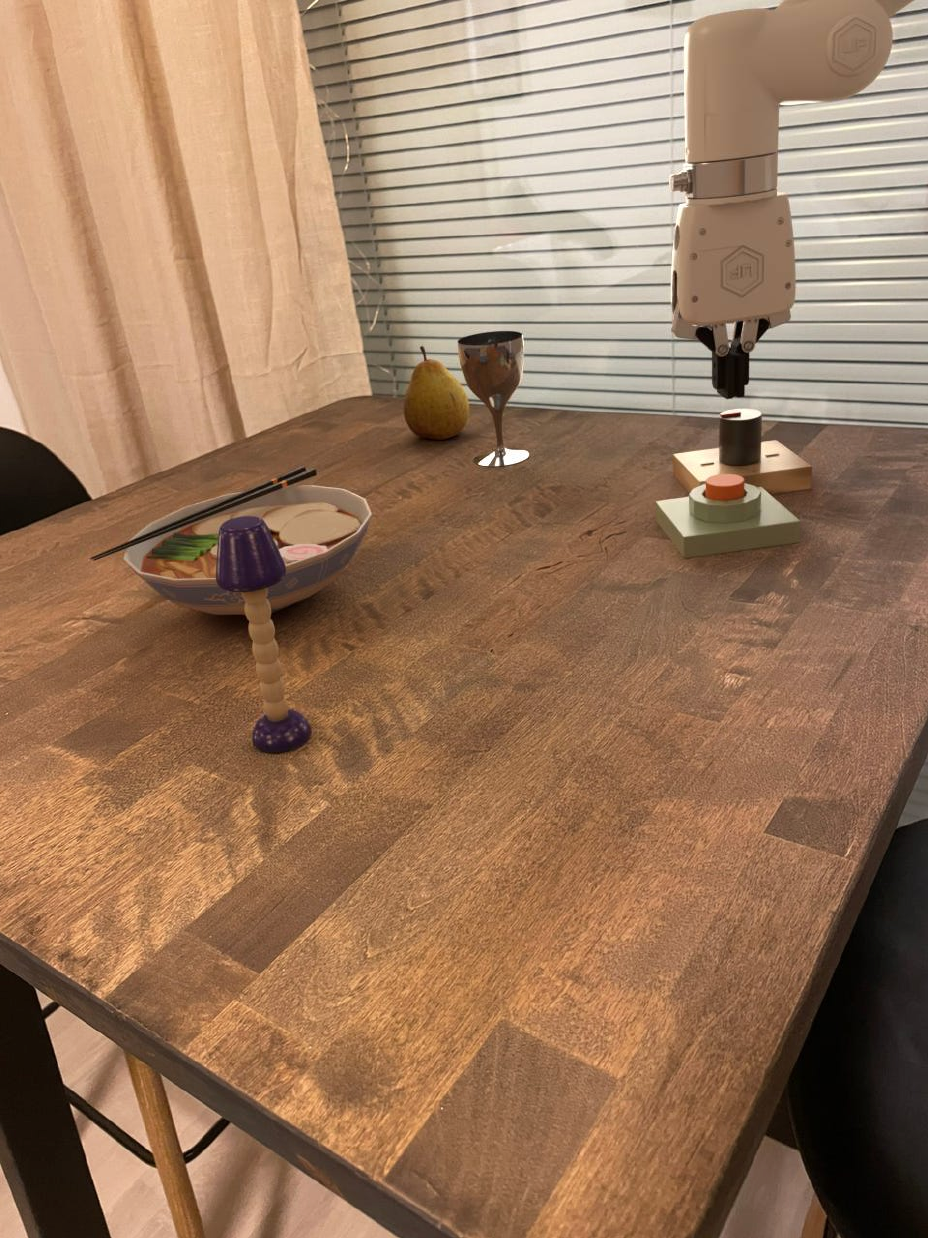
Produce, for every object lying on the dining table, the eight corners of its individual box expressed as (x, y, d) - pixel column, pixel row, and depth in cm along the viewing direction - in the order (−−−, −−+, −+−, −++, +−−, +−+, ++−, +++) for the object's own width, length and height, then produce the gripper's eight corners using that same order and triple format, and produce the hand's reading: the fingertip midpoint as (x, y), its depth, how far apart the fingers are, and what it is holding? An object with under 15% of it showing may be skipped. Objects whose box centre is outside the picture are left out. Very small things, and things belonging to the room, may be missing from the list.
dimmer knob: (752, 450, 108) (753, 403, 105) (766, 462, 104) (768, 413, 101) (713, 456, 107) (713, 409, 105) (726, 468, 103) (727, 419, 101)
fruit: (464, 443, 131) (453, 353, 126) (400, 445, 134) (387, 357, 128) (478, 424, 139) (469, 339, 133) (417, 427, 141) (406, 343, 136)
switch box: (761, 506, 99) (762, 469, 98) (799, 542, 91) (801, 502, 89) (655, 521, 99) (654, 484, 97) (683, 558, 90) (683, 518, 88)
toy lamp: (297, 711, 73) (252, 504, 66) (332, 733, 70) (288, 518, 63) (242, 739, 71) (188, 527, 63) (275, 763, 68) (223, 542, 60)
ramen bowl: (221, 691, 78) (197, 599, 74) (89, 621, 93) (63, 542, 89) (441, 576, 93) (430, 495, 89) (297, 532, 108) (282, 461, 104)
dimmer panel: (775, 460, 111) (776, 438, 110) (811, 488, 102) (812, 464, 101) (672, 474, 111) (672, 452, 110) (699, 504, 102) (699, 480, 101)
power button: (736, 488, 95) (737, 471, 94) (749, 500, 92) (750, 483, 91) (700, 493, 95) (700, 476, 94) (712, 505, 92) (712, 488, 91)
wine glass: (529, 465, 120) (519, 342, 113) (466, 469, 121) (452, 347, 114) (535, 445, 127) (525, 328, 120) (475, 449, 128) (462, 333, 121)
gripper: (657, 195, 79) (663, 416, 87) (836, 170, 79) (825, 392, 88) (633, 191, 86) (641, 396, 94) (799, 168, 86) (792, 374, 94)
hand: (730, 394), depth 91 cm, fingers closed
